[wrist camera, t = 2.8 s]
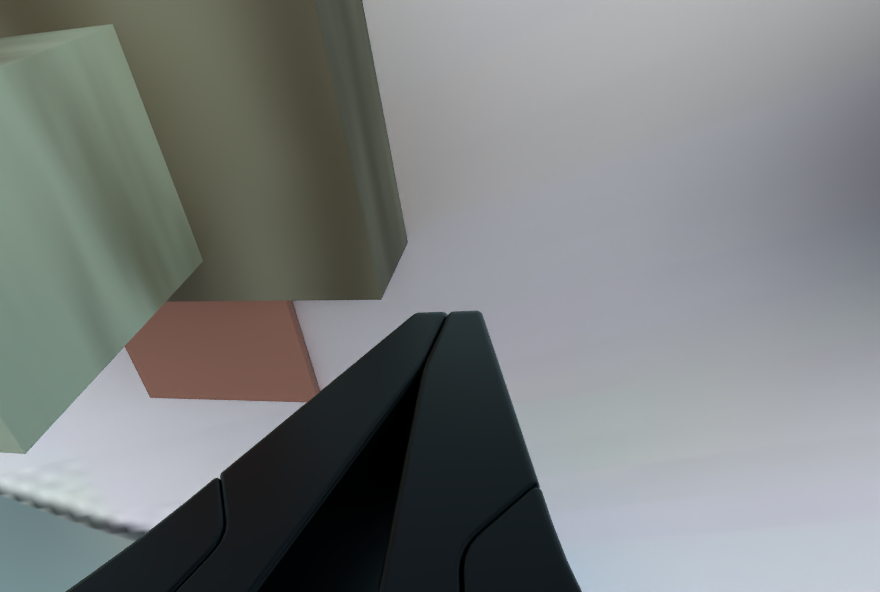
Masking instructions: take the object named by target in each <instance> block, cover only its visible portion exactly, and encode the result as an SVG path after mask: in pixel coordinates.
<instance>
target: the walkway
mask: <svg viewBox="0 0 880 592" xmlns="http://www.w3.org/2000/svg"><path fill="white" fill-rule="evenodd" d="M109 24H113V27H114V29H115V32H116V34H117V37H118V40H119V42H120V45H121V47H122V50H123V53H124V55H125V58H126V61H127V63H128V66H129V68H130V71H131V74H132V76H133V79H134V81H135V84H136V87H137V89H138V92H139V95H140V97H141V100H142V102H143V105H144V108H145V110H146V113H147V115H148V118H149V121H150V123H151V126H152V128H153V131H154V134H155V136H156V139H157V142H158V144H159V147H160V149H161V152H162V155H163V157H164V160H165V162H166V165H167V168H168V170H169V173H170V176H171V178H172V181H173V183H174V186H175V189H176V191H177V194H178V196H179V199H180V202H181V204H182V207H183V210H184V212H185V215H186V217H187V220H188V223H189V225H190V228H191V230H192V233H193V236H194V238H195V241H196V244H197V246H198V249H199V251H200V254H201V257H202V259H203V262H202V263H201V264H200V265H199V266H198V267H197V268H196V269H195V271H194V272H193V273H192V274H191V275H190V276H189V277H188V278H187V279H186V280H185V281H184V282H183V284H182V285H181V286H180V287H179V288H178V289H177V290H176V291H175V292H174V293H173V294H172V295H171V297H170V298H169V299H168V300H167V301H166V302H184V301H285V300H381V299H382V297H383V295H384V292H385V290H386V288H387V286H388V284H389V282H390V279H391V277H392V275H393V273H394V271H395V269H396V266H397V264H398V262H399V260H400V258H401V256H402V254H403V251H404V249H405V247H406V245H407V237H406V232H405V227H404V221H403V216H402V211H401V205H400V200H399V195H398V190H397V184H396V179H395V174H394V168H393V163H392V158H391V152H390V147H389V142H388V136H387V131H386V126H385V121H384V115H383V110H382V105H381V99H380V94H379V89H378V83H377V78H376V73H375V68H374V62H373V57H372V52H371V46H370V41H369V36H368V30H367V25H366V20H365V14H364V9H363V4H362V0H0V38H3V37H11V36H19V35H27V34H35V33H43V32H52V31H60V30H68V29H76V28H84V27H92V26H100V25H109Z"/></svg>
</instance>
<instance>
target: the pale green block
mask: <svg viewBox="0 0 880 592" xmlns="http://www.w3.org/2000/svg"><path fill="white" fill-rule="evenodd" d="M202 262H203V259H202V257H201V254H200V251H199V249H198V246H197V244H196V241H195V238H194V236H193V233H192V230H191V228H190V225H189V223H188V220H187V217H186V215H185V212H184V210H183V207H182V204H181V202H180V199H179V196H178V194H177V191H176V189H175V186H174V183H173V181H172V178H171V176H170V173H169V170H168V168H167V165H166V162H165V160H164V157H163V155H162V152H161V149H160V147H159V144H158V142H157V139H156V136H155V134H154V131H153V128H152V126H151V123H150V121H149V118H148V115H147V113H146V110H145V108H144V105H143V102H142V100H141V97H140V95H139V92H138V89H137V87H136V84H135V81H134V79H133V76H132V74H131V71H130V68H129V66H128V63H127V61H126V58H125V55H124V53H123V50H122V47H121V45H120V42H119V40H118V37H117V34H116V32H115V29H114V27H113V24H109V25H100V26H92V27H84V28H76V29H68V30H60V31H52V32H43V33H35V34H27V35H19V36H11V37H3V38H0V452H2V453H20V454H26V453H27V451H28V450H29V449H30V448H31V447H32V446H33V445H34V444H35V443H36V442H37V441H38V440H39V438H40V437H41V436H42V435H43V434H44V433H45V432H46V431H47V430H48V429H49V428H50V427H51V425H52V424H53V423H54V422H55V421H56V420H57V419H58V418H59V417H60V416H61V415H62V414H63V412H64V411H65V410H66V409H67V408H68V407H69V406H70V405H71V404H72V403H73V402H74V401H75V399H76V398H77V397H78V396H79V395H80V394H81V393H82V392H83V391H84V390H85V389H86V388H87V386H88V385H89V384H90V383H91V382H92V381H93V380H94V379H95V378H96V377H97V376H98V375H99V373H100V372H101V371H102V370H103V369H104V368H105V367H106V366H107V365H108V364H109V363H110V362H111V360H112V359H113V358H114V357H115V356H116V355H117V354H118V353H119V352H120V351H121V350H122V349H123V347H124V346H125V345H126V344H127V343H128V342H129V341H130V340H131V339H132V338H133V337H134V336H135V334H136V333H137V332H138V331H139V330H140V329H141V328H142V327H143V326H144V325H145V324H146V323H147V321H148V320H149V319H150V318H151V317H152V316H153V315H154V314H155V313H156V312H157V311H158V310H159V308H160V307H161V306H162V305H163V304H164V303H165V302H166V301H167V300H168V299H169V298H170V297H171V295H172V294H173V293H174V292H175V291H176V290H177V289H178V288H179V287H180V286H181V285H182V284H183V282H184V281H185V280H186V279H187V278H188V277H189V276H190V275H191V274H192V273H193V272H194V271H195V269H196V268H197V267H198V266H199V265H200V264H201V263H202Z"/></svg>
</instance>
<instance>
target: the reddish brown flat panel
mask: <svg viewBox="0 0 880 592" xmlns="http://www.w3.org/2000/svg"><path fill="white" fill-rule="evenodd" d="M125 348H126V350H127V352H128V354H129V356H130V358H131V360H132V362H133V364H134V366H135V368H136V370H137V372H138V374H139V376H140V378H141V380H142V382H143V384H144V386H145V388H146V390H147V392H148V394H149V396H150V398H178V399H213V400H248V401H283V402H308V401H309V400H311V399H312V398H313V397H314V396H316V395H317V394H318V393H319V392H320V390H319V387H318V384H317V380H316V377H315V374H314V371H313V367H312V364H311V361H310V358H309V355H308V351H307V348H306V345H305V342H304V339H303V335H302V332H301V329H300V326H299V323H298V319H297V316H296V313H295V310H294V306H293V303H292V300H285V301H184V302H165V303H164V304H163V305H162V306H161V307H160V308H159V310H158V311H157V312H156V313H155V314H154V315H153V316H152V317H151V318H150V319H149V320H148V321H147V323H146V324H145V325H144V326H143V327H142V328H141V329H140V330H139V331H138V332H137V333H136V334H135V336H134V337H133V338H132V339H131V340H130V341H129V342H128V343H127V344H126V345H125Z"/></svg>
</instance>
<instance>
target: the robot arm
mask: <svg viewBox="0 0 880 592" xmlns="http://www.w3.org/2000/svg"><path fill="white" fill-rule="evenodd" d="M220 479H221V480H220ZM220 479H219V478H215V479H213V480H212V481H211V482H210V483H208V484H207V485H206V486H205V487H204V488H202V489H201V490H200V491H199V492H197V493H196V494H195V495H194V496H193V497H191V498H190V499H189V500H188V501H186V502H185V503H184V504H183V505H181V506H180V507H179V508H178V509H176V510H175V511H174V512H173V513H171V514H170V515H169V516H168V517H166V518H165V519H164V520H162V521H161V522H160V523H159V524H157V525H156V526H155V527H154V528H152V529H151V530H150V531H149V532H147V533H146V534H145V535H143V536H142V537H141V538H139V539H138V540H136V541H135V542H134V543H132V544H131V545H130V546H129V547H127V548H126V549H124V550H123V551H122V552H120V553H119V554H118V555H116V556H115V557H113V558H112V559H111V560H109V561H108V562H106V563H105V564H104V565H102V566H101V567H100V568H98V569H97V570H96V571H94V572H93V573H92V574H90V575H89V576H87V577H86V578H84V579H83V580H81V581H80V582H79V583H77V584H76V585H74V586H73V587H72V588H70V589H69V590H67V591H66V592H582V591H581V589H580V587H579V585H578V583H577V581H576V578H575V576H574V574H573V572H572V570H571V568H570V566H569V564H568V561H567V559H566V557H565V554H564V552H563V549H562V546H561V544H560V541H559V539H558V536H557V533H556V531H555V528H554V526H553V523H552V520H551V517H550V514H549V511H548V508H547V505H546V502H545V499H544V496H543V493H542V491H541V490H540V486H539V483H538V480H537V477H536V474H535V471H534V468H533V465H532V462H531V459H530V456H529V453H528V450H527V447H526V444H525V441H524V438H523V435H522V432H521V429H520V426H519V423H518V420H517V417H516V414H515V411H514V408H513V405H512V402H511V399H510V396H509V393H508V390H507V387H506V384H505V381H504V378H503V375H502V372H501V369H500V366H499V363H498V360H497V357H496V354H495V351H494V348H493V345H492V342H491V339H490V336H489V333H488V330H487V327H486V324H485V321H484V318H483V315H482V313H481V312H479V311H457V312H451V313H449V314H448V315H447V314H446V313H445V312H427V313H416V314H414V315H413V316H411V317H410V318H409V319H408V320H407V321H405V322H404V323H403V324H402V325H400V326H399V327H398V328H397V329H396V330H394V331H393V332H392V333H391V334H390V335H388V336H387V337H386V338H385V339H383V340H382V341H381V342H380V343H379V344H377V345H376V346H375V347H374V348H373V349H371V350H370V351H369V352H368V353H366V354H365V355H364V356H363V357H362V358H360V359H359V360H358V361H357V362H356V363H354V364H353V365H352V366H351V367H349V368H348V369H347V370H346V371H345V372H343V373H342V374H341V375H340V376H339V377H337V378H336V379H335V380H334V381H332V382H331V383H330V384H329V385H328V386H326V387H325V388H324V389H323V390H322V391H320V392H319V393H318V394H317V395H316V396H314V397H313V398H312V399H311V400H309V401H308V402H307V403H306V404H305V405H303V406H302V407H301V408H300V409H299V410H297V411H296V412H295V413H294V414H292V415H291V416H290V417H289V418H288V419H286V420H285V421H284V422H283V423H282V424H280V425H279V426H278V427H277V428H275V429H274V430H273V431H272V432H271V433H269V434H268V435H267V436H266V437H265V438H263V439H262V440H261V441H260V442H258V443H257V444H256V445H255V446H254V447H252V448H251V449H250V450H249V451H248V452H246V453H245V454H244V455H243V456H241V457H240V458H239V459H238V460H237V461H235V462H234V463H233V464H232V465H231V466H229V467H228V468H227V469H226V470H224V471H223V472H222V473H221V475H220Z"/></svg>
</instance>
